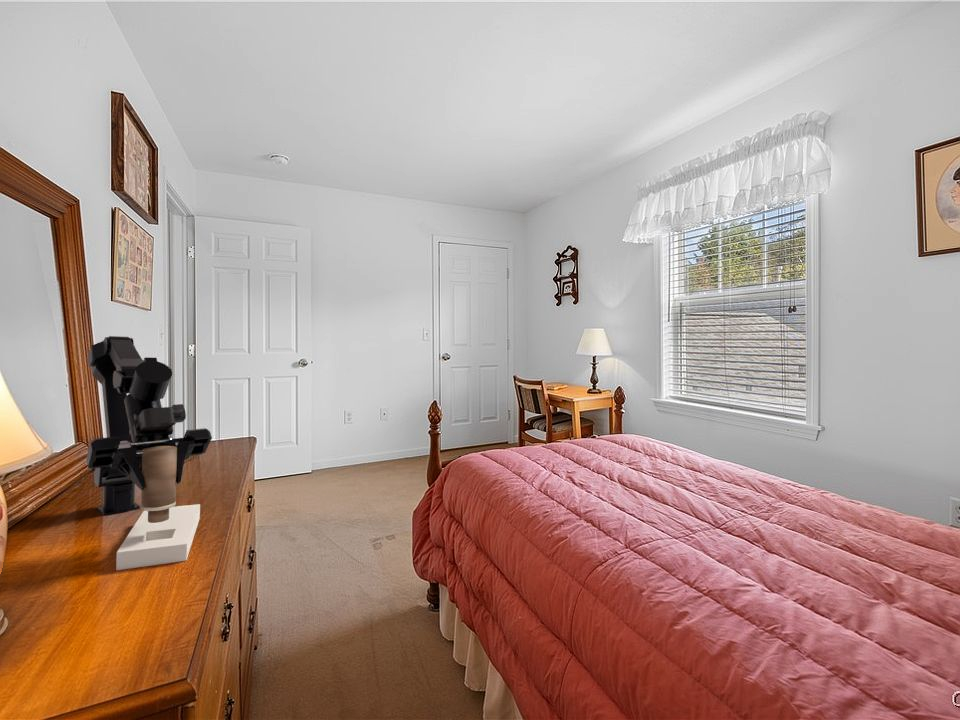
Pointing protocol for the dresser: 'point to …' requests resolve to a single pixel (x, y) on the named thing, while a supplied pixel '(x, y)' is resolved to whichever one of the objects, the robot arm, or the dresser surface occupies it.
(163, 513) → the peg
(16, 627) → the dresser surface
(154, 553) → the board
